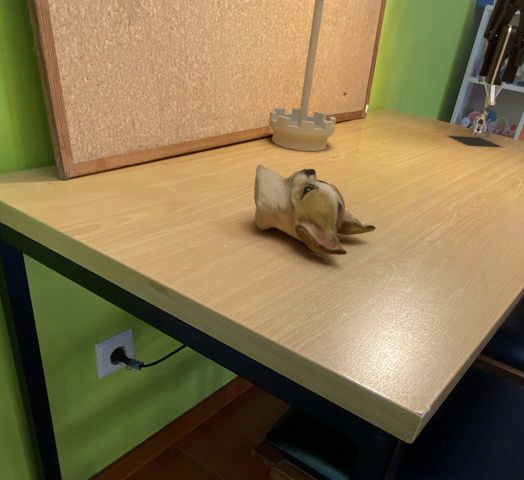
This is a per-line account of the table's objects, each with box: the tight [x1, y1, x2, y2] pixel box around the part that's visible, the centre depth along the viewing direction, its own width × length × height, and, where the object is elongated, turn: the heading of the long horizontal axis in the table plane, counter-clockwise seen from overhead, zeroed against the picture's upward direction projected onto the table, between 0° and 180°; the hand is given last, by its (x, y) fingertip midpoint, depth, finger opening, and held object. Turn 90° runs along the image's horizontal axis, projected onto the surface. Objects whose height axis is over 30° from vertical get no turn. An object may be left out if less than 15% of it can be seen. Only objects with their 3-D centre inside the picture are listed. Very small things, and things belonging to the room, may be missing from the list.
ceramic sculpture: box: [253, 164, 377, 256], centre depth 60 cm, size 11×9×15 cm
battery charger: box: [484, 24, 519, 87], centre depth 111 cm, size 7×4×11 cm, turn 166°
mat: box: [449, 135, 500, 148], centre depth 123 cm, size 8×9×1 cm
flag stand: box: [268, 0, 337, 152], centre depth 93 cm, size 13×13×30 cm
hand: (495, 79), depth 114 cm, fingers closed on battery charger, 7 cm apart
